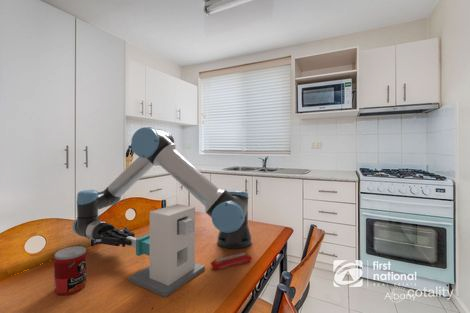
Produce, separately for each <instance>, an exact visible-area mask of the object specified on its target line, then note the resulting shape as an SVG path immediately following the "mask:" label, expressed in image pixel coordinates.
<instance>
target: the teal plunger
mask: <svg viewBox="0 0 470 313" xmlns="http://www.w3.org/2000/svg"><path fill="white" fill-rule="evenodd" d="M136 238H137V239H136V248H135V256H138V257H141V256H142V255H146V256H149V257H150V233H148V234H146V235H145V234H144V235H142V236H140V237H136Z"/></svg>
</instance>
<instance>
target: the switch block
mask: <svg viewBox="0 0 470 313" xmlns="http://www.w3.org/2000/svg"><path fill="white" fill-rule="evenodd" d="M183 217H187V218H192V219H194V232H192V233H190V234H188V235H182V234H178V233H177V220H178V219H180V218H183ZM149 234H150V256H149V266H147V267H145V268H144V269H142V270H140V271H138V272H136V273H134V274H131V275H129V276H128V281H129V282H130V283H133V284H134V285H138V286H140V287H141V288H144V289H146V290H148V291H151V292H152V293H155V294H157V295H160V296H162V297H163V298H167V297H168V296H169V295H171V294H172V293H174V292H175V291H176V290H178V289H179V288H181V287H182V286H183V285H185V284H186V283H188V282H189V281H190V280H192V279H194V278H195V277H196V276H198V275H199V274H200V273H202V272H203V271H205V269H206V268H205V266H206V265H203V264H200V263H197V262H196V260H195V259H196V258H195V257H196V255H195V254H196V248H195V247H196V246H195V244H196V239H195V238H196V207H195V206H190V205H185V204H179V203H176V204H173V205H168V206H166V207H162V208H158V209H154V210H151V211H149Z"/></svg>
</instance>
